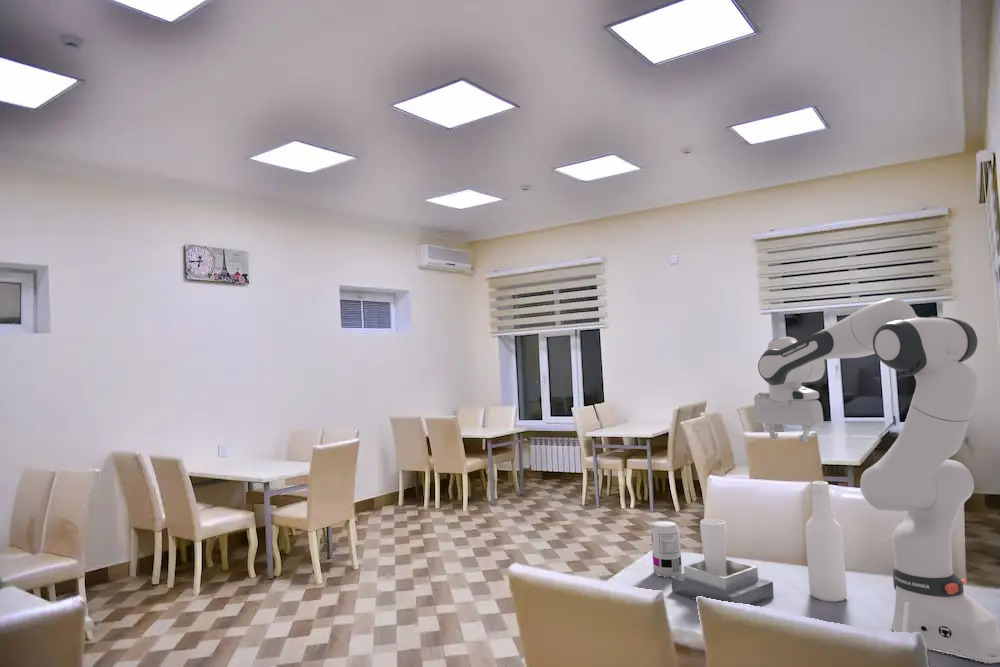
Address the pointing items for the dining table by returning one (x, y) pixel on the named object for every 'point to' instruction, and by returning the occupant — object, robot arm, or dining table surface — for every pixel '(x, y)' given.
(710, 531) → the drinking glass
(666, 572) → the supplement can
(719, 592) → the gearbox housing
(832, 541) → the white bottle
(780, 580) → the dining table surface
